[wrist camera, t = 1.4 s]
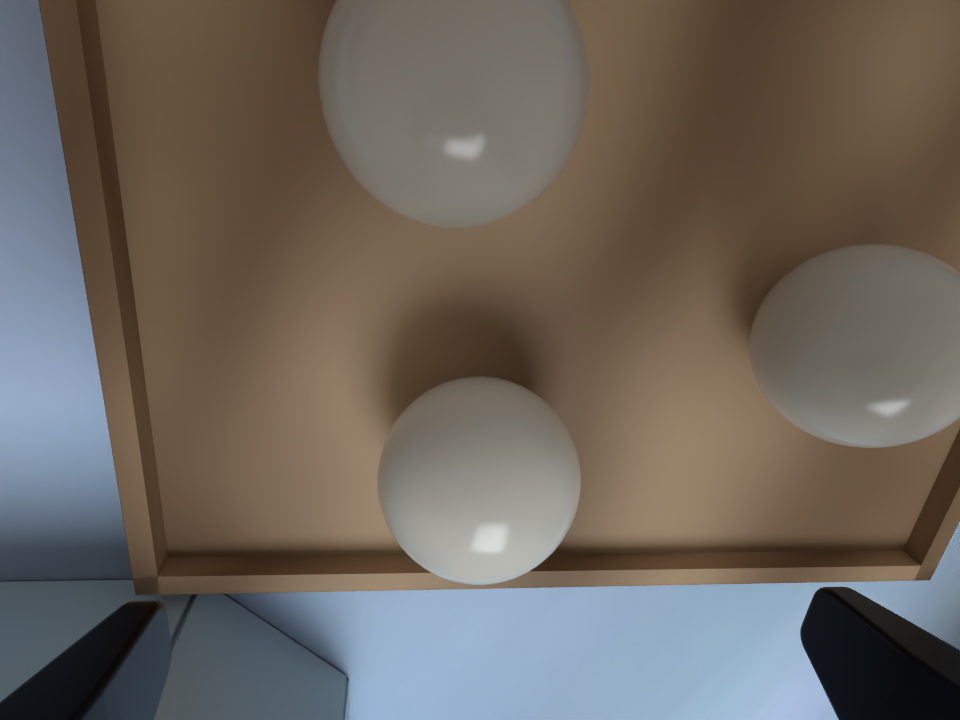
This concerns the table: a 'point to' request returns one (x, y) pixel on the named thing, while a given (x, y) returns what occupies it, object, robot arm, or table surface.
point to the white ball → (479, 480)
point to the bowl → (177, 651)
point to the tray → (501, 290)
